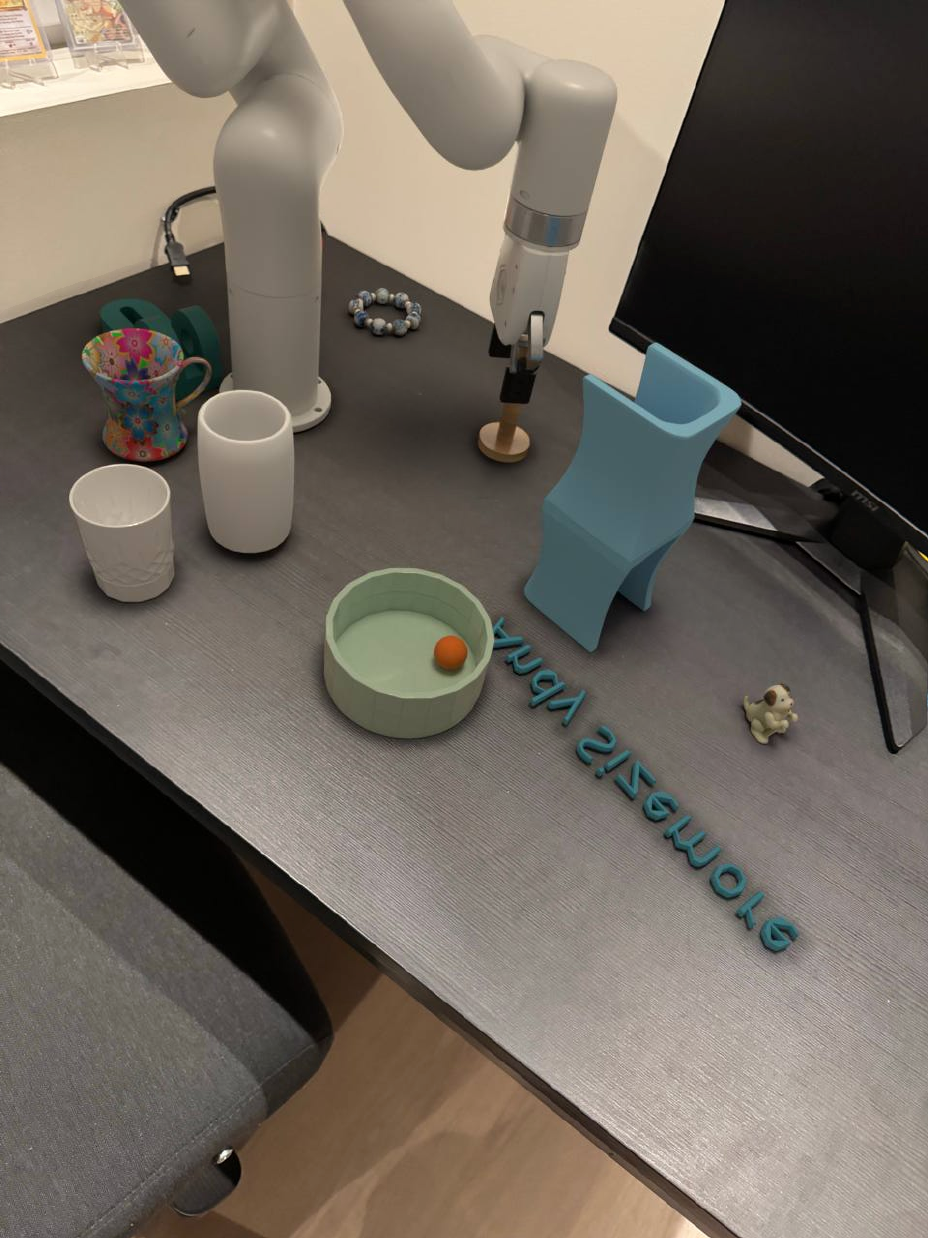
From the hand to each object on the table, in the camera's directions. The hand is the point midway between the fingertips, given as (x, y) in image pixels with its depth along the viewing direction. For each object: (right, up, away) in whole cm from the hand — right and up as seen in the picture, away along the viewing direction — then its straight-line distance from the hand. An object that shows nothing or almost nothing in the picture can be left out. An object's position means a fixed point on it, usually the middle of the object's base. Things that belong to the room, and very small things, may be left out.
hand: (507, 377), depth 92 cm
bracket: (-41, +5, +8) cm, 43 cm away
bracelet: (-15, +14, +21) cm, 30 cm away
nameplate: (+9, -39, -20) cm, 45 cm away
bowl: (-10, -31, -17) cm, 37 cm away
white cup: (-35, -23, -14) cm, 44 cm away
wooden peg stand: (0, -6, +7) cm, 9 cm away
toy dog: (+23, -36, -14) cm, 45 cm away
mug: (-37, -7, -2) cm, 38 cm away
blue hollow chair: (+7, -24, -7) cm, 26 cm away
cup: (-26, -18, -8) cm, 33 cm away
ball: (-6, -29, -17) cm, 35 cm away
